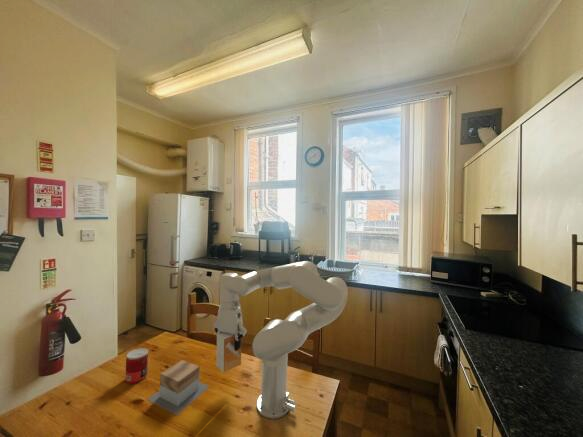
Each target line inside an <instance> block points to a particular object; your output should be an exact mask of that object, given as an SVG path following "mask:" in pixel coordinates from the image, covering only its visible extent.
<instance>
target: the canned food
mask: <svg viewBox="0 0 583 437" xmlns="http://www.w3.org/2000/svg"><path fill="white" fill-rule="evenodd" d="M125 358H126V359H125V380H124V381H125V382H126V384H128V385H135V384H139V383H140V382H142V381H143V380H145V379H146V378H147V376H148V363H149V350H148V349H147V348H144V347H143V348H141V347H140V348H136V349H133V350H131V351H129V352H127V353H126V356H125Z"/></svg>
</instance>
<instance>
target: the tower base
mask: <svg viewBox="0 0 583 437" xmlns="http://www.w3.org/2000/svg"><path fill="white" fill-rule="evenodd" d="M199 382H200V377H199V378H198V379H197V380H196V381H194V382H193V383H192V384H190V385H189V386H188V387H186V388H185V389H184V390H183V391H181V392H180V393H179V394H177V393H175V392H173V391H171V390H169V389H167V388H165V387H163V386H161V385H160V384H159V391H160V397H161V398H163V399H165V400H167V401H169V402H170V403H172V404H174V405H176V406H178V405H180V404H181V403H182V402H183V401H185V400H186V399H187V398H188V397H189V396H191V395H192V394H193V393H194V392H196V391H197V390H198V389H199Z"/></svg>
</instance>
